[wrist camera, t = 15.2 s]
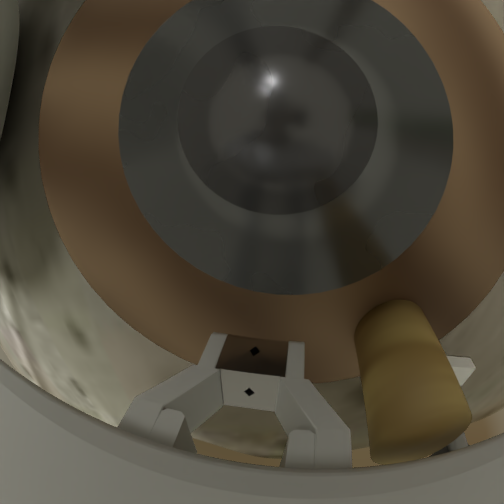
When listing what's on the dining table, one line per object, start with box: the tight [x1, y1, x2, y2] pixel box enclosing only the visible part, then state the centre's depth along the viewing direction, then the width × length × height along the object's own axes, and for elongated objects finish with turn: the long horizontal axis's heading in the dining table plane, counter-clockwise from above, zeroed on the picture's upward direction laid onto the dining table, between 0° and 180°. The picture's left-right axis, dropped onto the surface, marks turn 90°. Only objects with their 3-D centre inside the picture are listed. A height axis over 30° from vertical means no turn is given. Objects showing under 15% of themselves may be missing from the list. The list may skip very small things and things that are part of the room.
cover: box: [118, 0, 453, 295], centre depth 5 cm, size 7×7×5 cm
